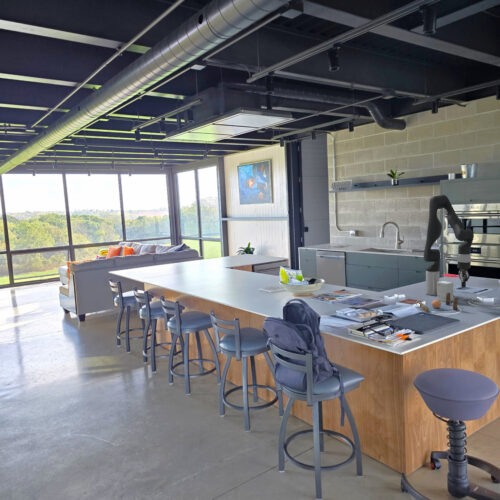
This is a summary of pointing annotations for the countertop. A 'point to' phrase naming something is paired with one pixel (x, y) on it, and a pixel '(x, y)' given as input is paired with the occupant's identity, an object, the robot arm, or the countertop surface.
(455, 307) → the post
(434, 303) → the ball
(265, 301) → the countertop surface
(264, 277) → the countertop surface
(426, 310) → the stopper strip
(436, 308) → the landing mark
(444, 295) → the small box
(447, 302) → the post
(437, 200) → the robot arm
